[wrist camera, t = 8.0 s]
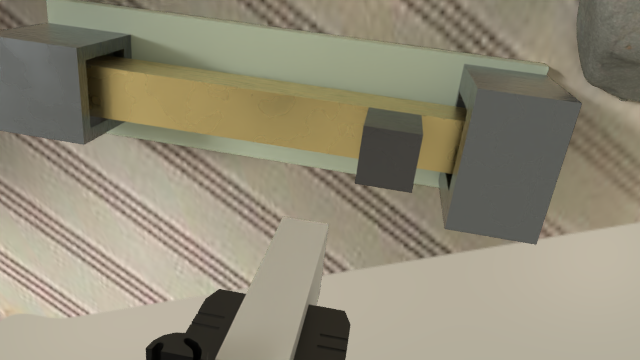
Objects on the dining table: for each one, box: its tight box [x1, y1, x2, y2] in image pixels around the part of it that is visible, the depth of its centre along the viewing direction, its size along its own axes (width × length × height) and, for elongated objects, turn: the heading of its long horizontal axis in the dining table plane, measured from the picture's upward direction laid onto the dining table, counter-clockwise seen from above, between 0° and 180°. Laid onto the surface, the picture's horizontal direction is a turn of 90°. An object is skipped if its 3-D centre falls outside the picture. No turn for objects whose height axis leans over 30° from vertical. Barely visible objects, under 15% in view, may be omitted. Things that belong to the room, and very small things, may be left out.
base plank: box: [46, 0, 549, 188], centre depth 35 cm, size 33×9×1 cm, turn 83°
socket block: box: [438, 64, 582, 244], centre depth 30 cm, size 5×8×7 cm, turn 173°
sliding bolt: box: [86, 55, 467, 193], centre depth 30 cm, size 28×3×7 cm, turn 83°
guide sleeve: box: [0, 23, 132, 144], centre depth 33 cm, size 6×6×6 cm
